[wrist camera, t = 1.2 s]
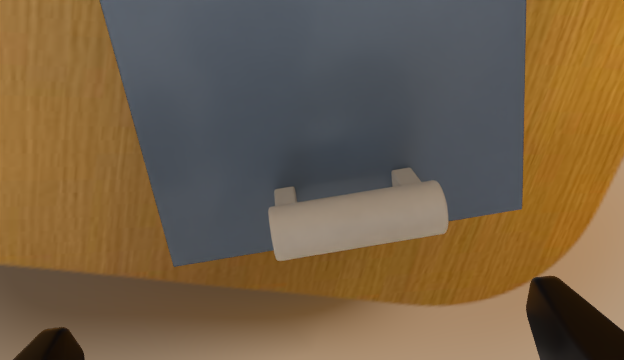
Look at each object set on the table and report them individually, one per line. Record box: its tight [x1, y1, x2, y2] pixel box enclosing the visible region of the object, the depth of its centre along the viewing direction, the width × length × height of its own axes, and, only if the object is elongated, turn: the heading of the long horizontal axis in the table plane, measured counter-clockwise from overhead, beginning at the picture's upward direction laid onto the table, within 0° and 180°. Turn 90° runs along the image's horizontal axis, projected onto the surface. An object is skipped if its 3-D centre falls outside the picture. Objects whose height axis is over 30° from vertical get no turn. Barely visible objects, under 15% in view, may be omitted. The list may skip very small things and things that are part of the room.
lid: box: [100, 0, 526, 267], centre depth 15 cm, size 12×13×4 cm
